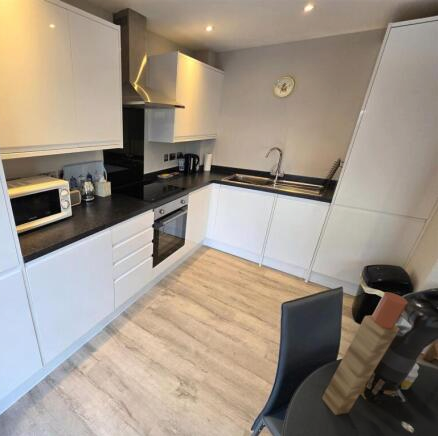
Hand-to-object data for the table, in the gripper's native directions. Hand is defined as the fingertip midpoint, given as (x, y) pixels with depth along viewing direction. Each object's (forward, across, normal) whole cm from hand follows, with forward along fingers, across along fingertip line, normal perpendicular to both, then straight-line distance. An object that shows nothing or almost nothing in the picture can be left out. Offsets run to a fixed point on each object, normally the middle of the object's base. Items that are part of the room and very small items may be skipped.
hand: (368, 398), depth 76 cm
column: (+4, +2, +9) cm, 10 cm away
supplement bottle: (+5, +5, -21) cm, 22 cm away
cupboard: (+4, +5, -9) cm, 12 cm away
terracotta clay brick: (-30, +2, +9) cm, 32 cm away
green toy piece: (+3, +1, -7) cm, 7 cm away
